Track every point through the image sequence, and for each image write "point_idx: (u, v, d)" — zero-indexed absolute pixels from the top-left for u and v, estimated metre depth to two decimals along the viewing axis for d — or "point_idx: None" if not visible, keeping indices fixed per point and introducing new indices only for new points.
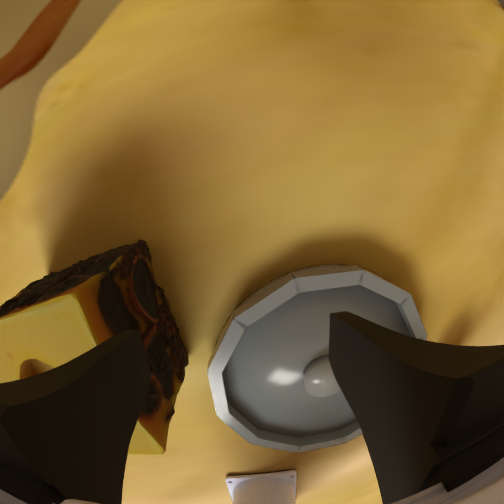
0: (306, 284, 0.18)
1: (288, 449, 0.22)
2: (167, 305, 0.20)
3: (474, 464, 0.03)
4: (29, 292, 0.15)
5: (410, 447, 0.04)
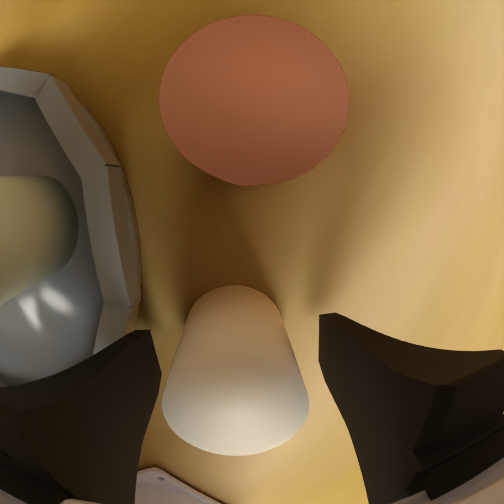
0: None
1: None
2: None
3: (459, 473, 0.03)
4: None
5: (394, 453, 0.04)
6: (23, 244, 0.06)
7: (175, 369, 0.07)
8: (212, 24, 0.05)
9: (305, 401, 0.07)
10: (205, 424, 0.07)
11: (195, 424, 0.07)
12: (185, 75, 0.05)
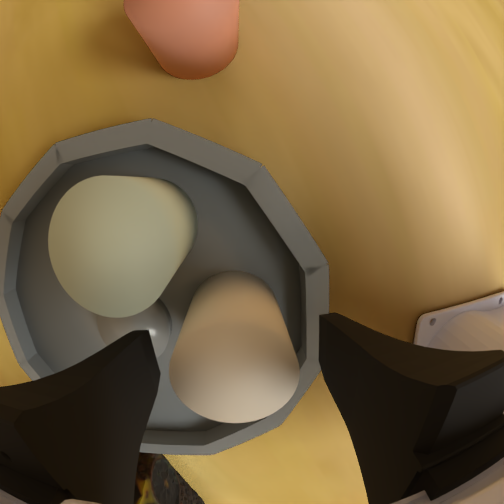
0: (19, 354, 0.12)
1: (311, 375, 0.13)
2: None
3: (459, 473, 0.03)
4: None
5: (394, 453, 0.04)
6: (154, 185, 0.08)
7: (182, 337, 0.08)
8: None
9: (296, 368, 0.08)
10: (207, 390, 0.08)
11: (198, 390, 0.08)
12: (144, 13, 0.07)
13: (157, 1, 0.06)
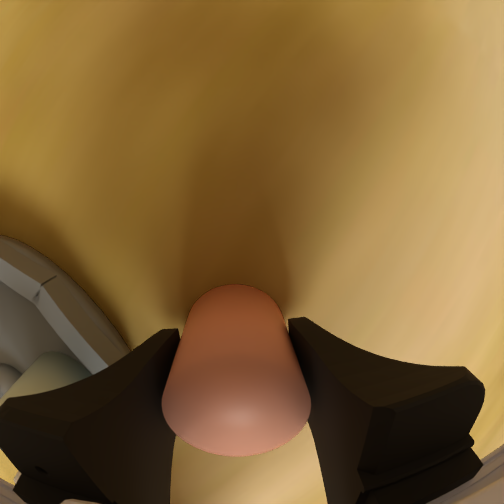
0: None
1: None
2: None
3: (408, 497, 0.03)
4: None
5: (343, 468, 0.04)
6: None
7: None
8: (194, 363, 0.06)
9: None
10: None
11: None
12: (180, 403, 0.07)
13: (203, 405, 0.07)
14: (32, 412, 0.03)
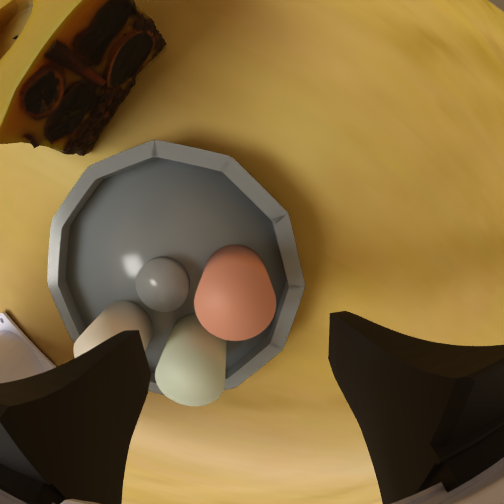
0: (234, 171, 0.16)
1: (69, 328, 0.18)
2: (123, 96, 0.16)
3: (474, 464, 0.03)
4: None
5: (410, 447, 0.04)
6: None
7: None
8: (214, 271, 0.14)
9: None
10: None
11: None
12: (204, 298, 0.14)
13: (217, 299, 0.14)
14: None
